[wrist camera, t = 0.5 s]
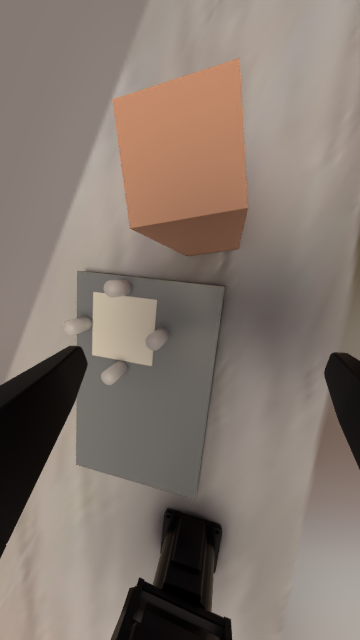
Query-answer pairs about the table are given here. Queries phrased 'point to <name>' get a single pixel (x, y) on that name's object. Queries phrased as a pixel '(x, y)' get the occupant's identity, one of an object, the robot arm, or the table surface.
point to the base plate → (145, 376)
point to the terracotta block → (186, 160)
